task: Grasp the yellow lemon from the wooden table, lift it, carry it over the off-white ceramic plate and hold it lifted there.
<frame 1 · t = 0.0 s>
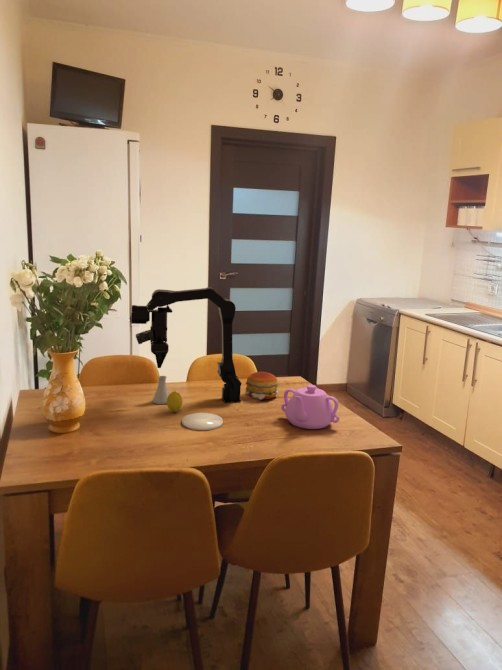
hand: (158, 364, 198), 15 cm above the table, tool pointing down, fingers open, 9 cm apart
plate: (202, 422, 182), on the table
flask: (161, 402, 201), on the table
lemon: (174, 412, 190), on the table
burger: (261, 396, 213), on the table
teapot: (306, 425, 184), on the table
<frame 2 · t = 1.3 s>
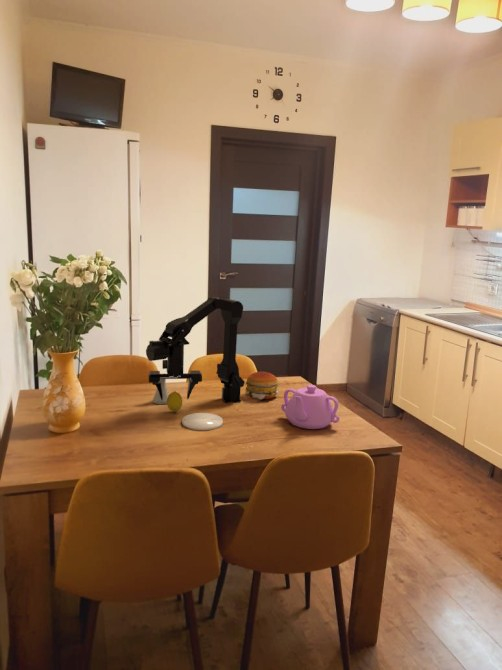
hand: (174, 399, 189), 5 cm above the table, tool pointing down, fingers open, 9 cm apart
nothing on the table moved.
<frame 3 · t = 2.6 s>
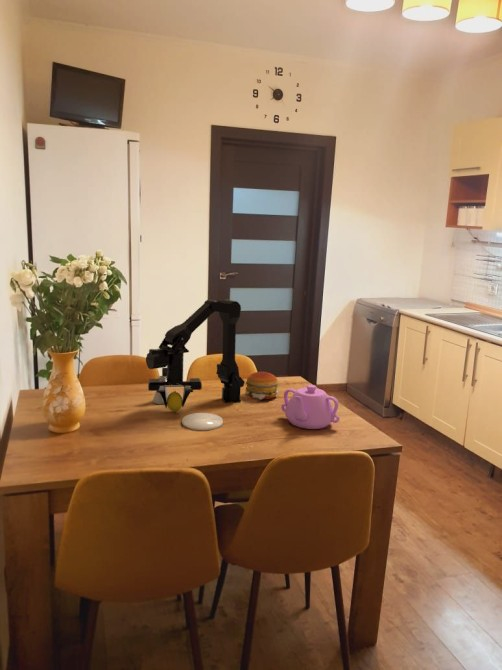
hand: (174, 407, 190), 2 cm above the table, tool pointing down, fingers closed on lemon, 5 cm apart
lemon: (174, 412, 190), on the table, touching gripper
everything else where it was.
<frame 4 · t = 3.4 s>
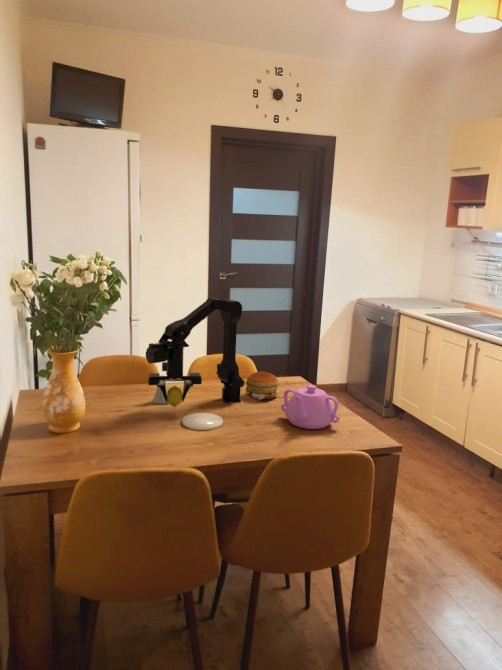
hand: (174, 401, 190), 4 cm above the table, tool pointing down, fingers closed on lemon, 5 cm apart
lemon: (174, 407, 190), point 2 cm above the table, touching gripper
everything else where it was.
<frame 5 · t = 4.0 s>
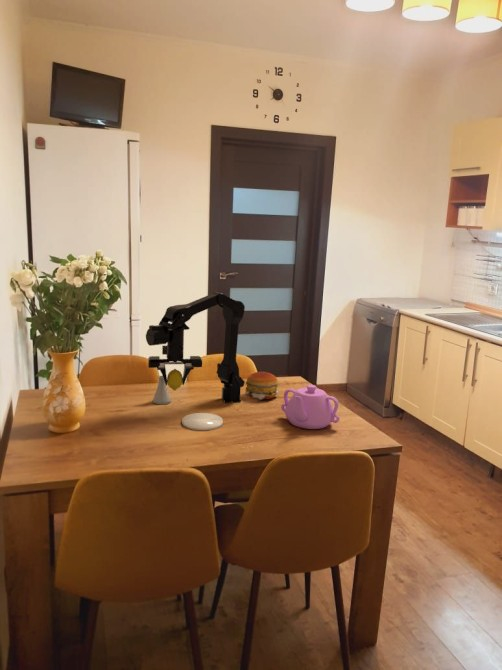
hand: (174, 384, 188), 10 cm above the table, tool pointing down, fingers closed on lemon, 5 cm apart
lemon: (174, 390, 189), point 8 cm above the table, touching gripper
everything else where it was.
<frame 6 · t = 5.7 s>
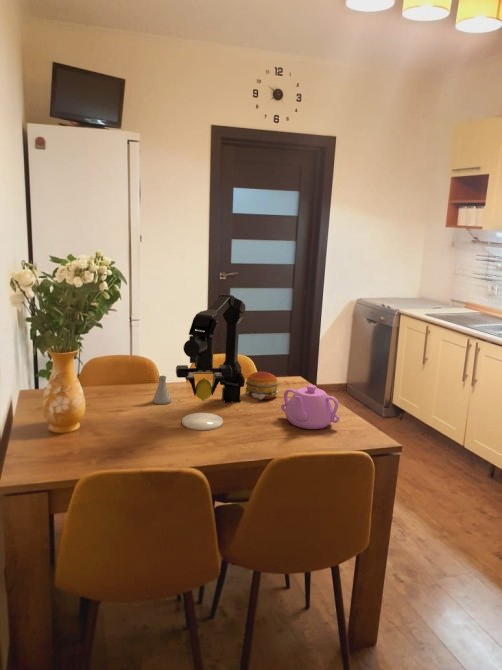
hand: (203, 395, 180), 10 cm above the table, tool pointing down, fingers closed on lemon, 5 cm apart
lemon: (203, 401, 180), point 8 cm above the table, touching gripper
everything else where it was.
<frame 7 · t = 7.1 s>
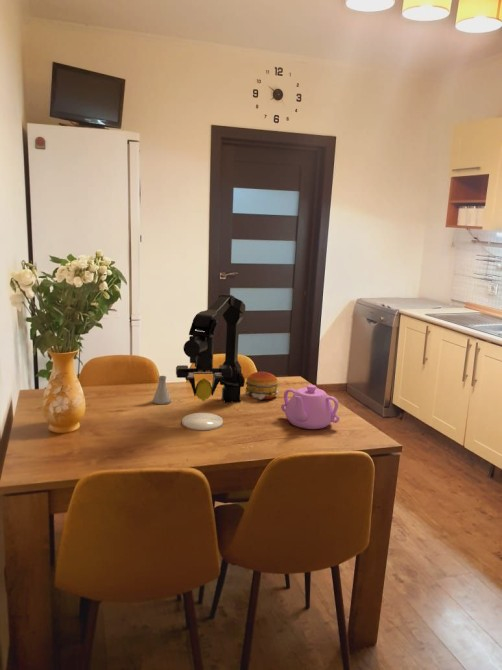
hand: (203, 395, 180), 10 cm above the table, tool pointing down, fingers closed on lemon, 5 cm apart
lemon: (203, 401, 180), point 8 cm above the table, touching gripper
everything else where it was.
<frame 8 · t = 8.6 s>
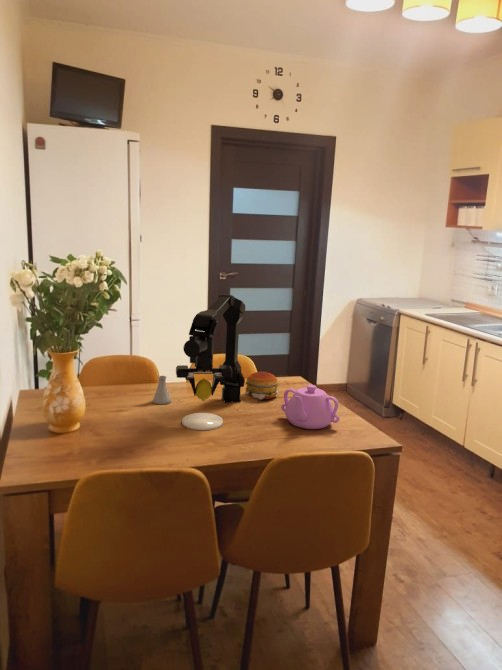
hand: (203, 395, 180), 10 cm above the table, tool pointing down, fingers closed on lemon, 5 cm apart
lemon: (203, 401, 180), point 8 cm above the table, touching gripper
everything else where it was.
at the end: the gripper is holding lemon; lemon point 7.7 cm above the table; lemon inside the target area on the plate (0.0 cm from its centre), point 7.7 cm above the plate's base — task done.
